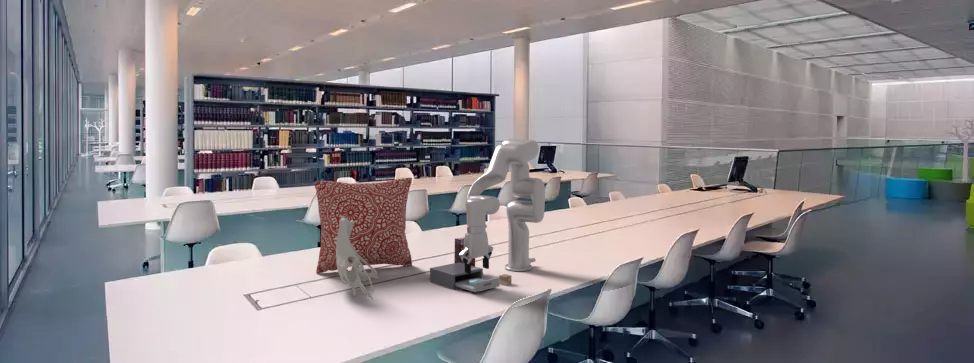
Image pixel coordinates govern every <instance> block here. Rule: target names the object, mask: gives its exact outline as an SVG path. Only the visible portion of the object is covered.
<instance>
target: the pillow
mask: <svg viewBox="0 0 974 363" xmlns="http://www.w3.org/2000/svg"><path fill="white" fill-rule="evenodd" d="M412 181H413V178H412V177H404V178H396V179H392V180H389V181H383V182H382V181H381V182H371V183H369V182H368V183H366V182H365V183H364V182H363V183H360V182H359V183H356V182H355V183H351V182H350V183H348V182H341V181H334V180H318V179H317V180H314V188H315V191H316V198H317V203H318V205H317V206H318V216H319V221H320V228H321V231H320V247H319V248H320V250H319V255H318V262H317V266H316V269H315V270H316V272H315V274H316V273H317V274H322V273H326V272H328V271H332V272H333V271H338V269H337V263H336V241H337V236H338V231H339V221H340V219H341V217H342V216H344V218H347V219H348V221H351V220H353V221H354V225H353V228H352V231H351V234H350V238H349V240H350V242H351V244H352V245H353V247H354V248H355V250H356V251H357V253H358V254H359V255H360V256H361V257H362V258H363V259H364V260H365V261H366V262H367V263H368V264H369V265H370V266H374V265H375V266H377V265H392V266H403V267H411V266H413V260H412V254H411V250H410V248H409V244H408V240H407V235H406V228H407V226H406V225H407V224H406V223H407V222H406V221H407V220H406V217H407V215H406V214H407V204H408V203H407V202H408V199H409V198H408V197H409V192H410V189H411V185H412ZM348 261H349V263H353V262H352V260H351V259H350V258H349V259H348ZM359 261H360V262H361V263H362V265H363V266H367V265H366V264H365V263H363V262H362V261H361V260H359ZM359 266H360V264H359ZM352 267H353V266H348V268H352Z"/></svg>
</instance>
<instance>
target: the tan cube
mask: <svg viewBox="0 0 974 363" xmlns="http://www.w3.org/2000/svg"><path fill="white" fill-rule="evenodd" d="M498 276H499V285H503V286H508V285H512V275H510V274H507V273H504V274H499V275H498Z"/></svg>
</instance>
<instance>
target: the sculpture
mask: <svg viewBox="0 0 974 363" xmlns="http://www.w3.org/2000/svg"><path fill="white" fill-rule="evenodd" d="M353 225H354V221H353V220H351V221H348V219H347V218H344V216H342V217H341V219H340V221H339V231H338V236H337V241H336V263H337V269H338V270H337V272H338V275H339V278H340V281H341V282H342V283H345V284H346V285H348V286H349V287H350V288H351V291H352V296H353V298H355V297H356V296H357V291H356V288H360V290H362V291H363V294H364V295H365V296H366V295H367V298H370V299H371V300H374V298H373V296H372V295H371V293H373V292H374V286H373V283H372V280H371V279H378V276H379V273H378V272H377V270H376V269H375V268H374V267H373V266H372V265H369V264H368V263H367V262H366V261H365V260H364V259H363V258H362V257H361V256H360V255H359V254H358V253H357V251H356V250H355V248H354V247H353V245H352V244H351V242H350V240H349V238H350V234H351V231H352V228H353ZM349 258H350V259H351V260H352V262H353V263H349V261H348V259H349ZM359 260H361V261H362V262H363V263H365V264H366V265H365V266H367V267H368V268H369V269H370V270H371V272H370V273H368V272H367V270H366V269H365V267H364V265H362V263H361V262H360V261H359ZM359 264H360V265H359ZM348 266H353V267H351V268H350V270H349V269H348V268H349V267H348ZM368 280H369V283H370V286H371V291H368V289H367V288H366V287H365V285H364V284H363V283H362V282H367V281H368Z"/></svg>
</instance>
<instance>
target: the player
mask: <svg viewBox="0 0 974 363" xmlns="http://www.w3.org/2000/svg"><path fill="white" fill-rule="evenodd" d="M483 269H484V268H483V267H478V266H476V265H475V266H471V274H468V273H465V264H464V263H460V262H458V263H454V262H453V263H450V264H443V265H440V266H439V265H438V266H433V267H430V268H429V282H430V283H431V284H435V285H438V286H441V287H444V288H447V289H450V290H453V291H455V290H459V289H461V288H460V287H457V286H455V282H459V281H464V280H468V279H473V278H478V277H479V278H482V279H484V276H483V275H484V274H483V273H484V272H483V271H484V270H483Z"/></svg>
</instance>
